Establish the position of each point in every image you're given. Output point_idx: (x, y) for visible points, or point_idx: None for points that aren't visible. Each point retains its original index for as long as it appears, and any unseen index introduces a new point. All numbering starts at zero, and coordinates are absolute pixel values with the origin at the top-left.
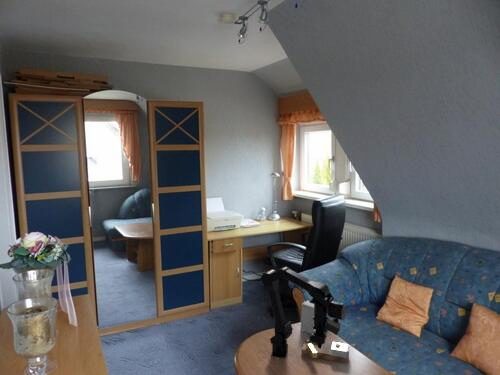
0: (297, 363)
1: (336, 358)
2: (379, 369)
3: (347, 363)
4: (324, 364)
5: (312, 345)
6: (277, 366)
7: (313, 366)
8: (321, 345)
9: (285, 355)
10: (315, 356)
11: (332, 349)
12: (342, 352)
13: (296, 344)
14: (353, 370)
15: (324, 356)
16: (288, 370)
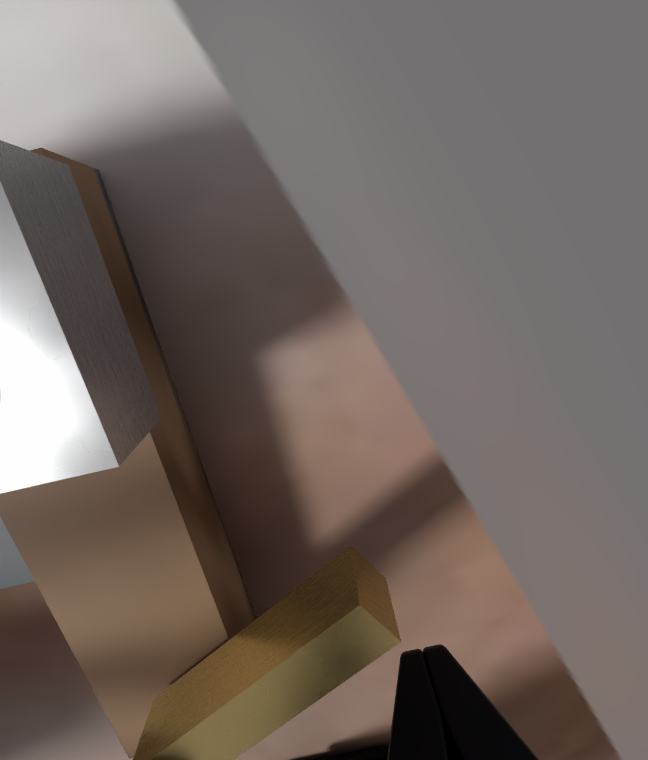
0: (416, 635)
1: (134, 335)
2: None
3: (97, 177)
4: (289, 426)
5: (211, 716)
6: (538, 731)
7: (388, 505)
8: (507, 727)
9: (370, 756)
10: (368, 572)
11: (112, 441)
12: (48, 247)
13: (122, 755)
14: (197, 44)
15: (188, 479)
16: (556, 650)
